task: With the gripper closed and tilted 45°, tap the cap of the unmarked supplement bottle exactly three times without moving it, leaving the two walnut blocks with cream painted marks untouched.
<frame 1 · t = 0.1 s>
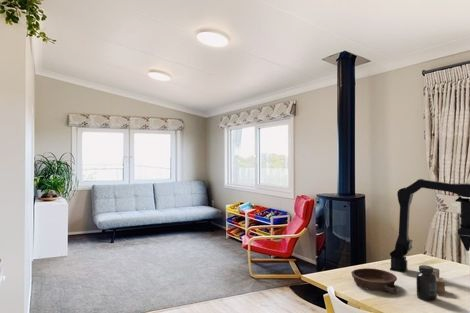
hand: (468, 248, 150), 15 cm above the table, tool pointing down, fingers open, 9 cm apart
walnut block far: (431, 280, 153), on the table
supplement bottle: (426, 298, 133), on the table
dish: (373, 286, 146), on the table
walnut block near bottle: (436, 291, 140), on the table
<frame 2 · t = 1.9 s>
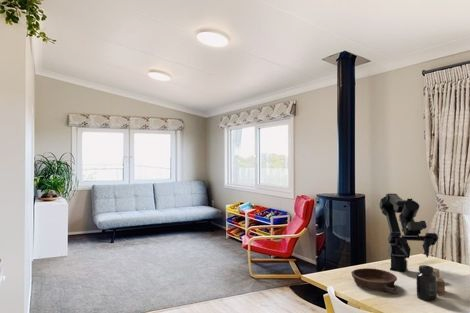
hand: (417, 256, 142), 14 cm above the table, tool tilted 45°, fingers open, 7 cm apart
nothing on the table moved.
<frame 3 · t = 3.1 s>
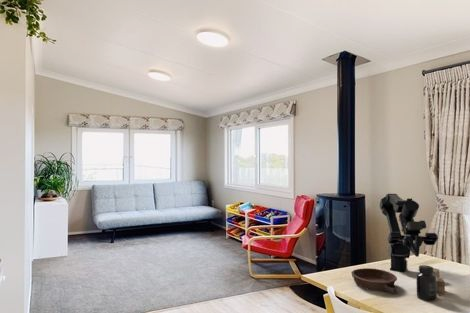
hand: (417, 256, 142), 14 cm above the table, tool tilted 45°, fingers closed
nothing on the table moved.
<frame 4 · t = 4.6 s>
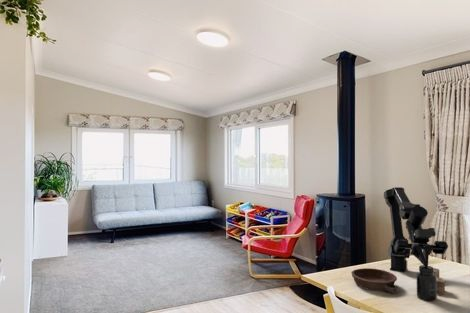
hand: (426, 266, 133), 12 cm above the table, tool tilted 45°, fingers closed, pressing on supplement bottle
supplement bottle: (426, 298, 133), on the table, touching gripper
everything else where it was.
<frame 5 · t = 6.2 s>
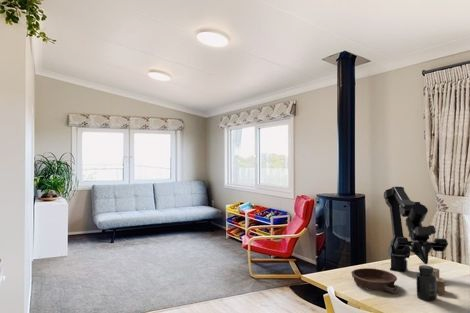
hand: (426, 263, 133), 13 cm above the table, tool tilted 45°, fingers closed
supplement bottle: (426, 298, 133), on the table
everything else where it was.
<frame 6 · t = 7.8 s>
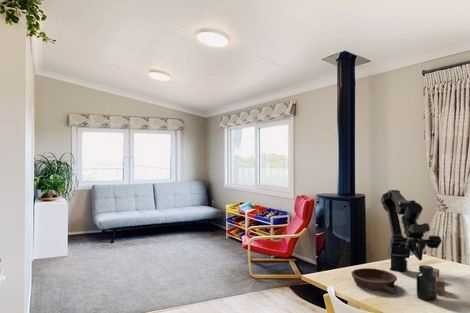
hand: (420, 259, 139), 13 cm above the table, tool tilted 45°, fingers closed
nothing on the table moved.
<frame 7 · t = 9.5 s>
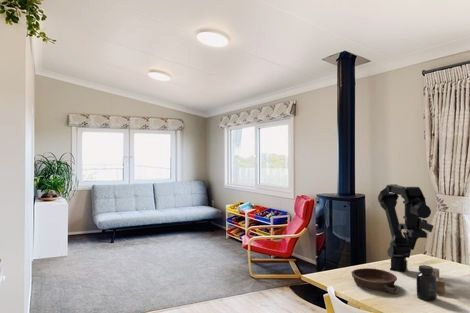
hand: (412, 249, 155), 13 cm above the table, tool pointing down, fingers closed
nothing on the table moved.
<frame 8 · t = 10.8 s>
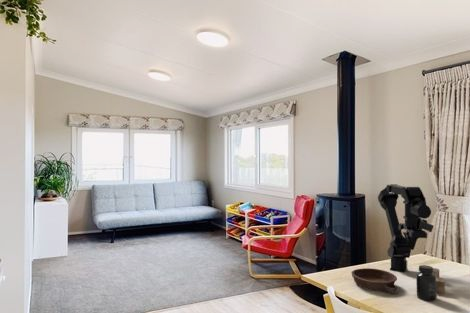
hand: (412, 249, 155), 13 cm above the table, tool pointing down, fingers closed
nothing on the table moved.
at the end: supplement bottle moved 0.2 cm from its start; supplement bottle tilted 0°; walnut block near bottle moved 0.1 cm from its start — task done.
